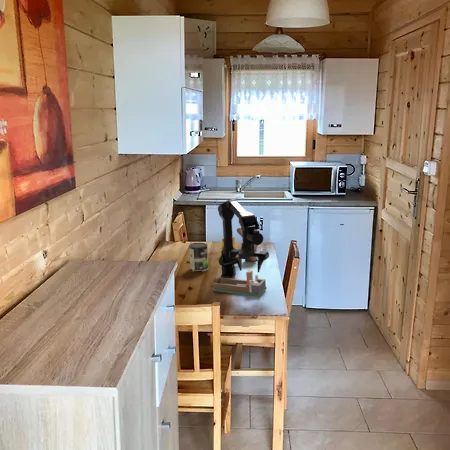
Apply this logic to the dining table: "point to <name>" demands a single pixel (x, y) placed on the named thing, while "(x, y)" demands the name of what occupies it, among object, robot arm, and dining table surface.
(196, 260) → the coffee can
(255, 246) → the mortar and pestle
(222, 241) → the supplement box
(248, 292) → the pitch
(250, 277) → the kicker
